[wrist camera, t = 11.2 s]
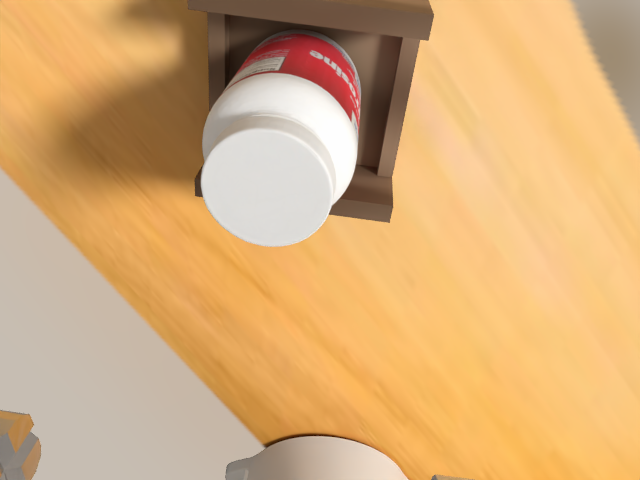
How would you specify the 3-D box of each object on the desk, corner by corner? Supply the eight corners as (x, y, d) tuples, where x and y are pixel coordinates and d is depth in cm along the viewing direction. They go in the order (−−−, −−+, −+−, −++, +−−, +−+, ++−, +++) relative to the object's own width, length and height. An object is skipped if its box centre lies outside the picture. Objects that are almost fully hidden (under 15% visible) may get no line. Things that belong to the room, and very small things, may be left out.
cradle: (388, 177, 31) (389, 222, 27) (218, 154, 31) (195, 196, 27) (425, -8, 25) (433, 15, 21) (216, -35, 25) (187, -18, 21)
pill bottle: (377, 122, 28) (378, 239, 19) (273, 158, 30) (229, 281, 21) (335, 5, 25) (313, 78, 16) (222, 52, 27) (144, 142, 18)
